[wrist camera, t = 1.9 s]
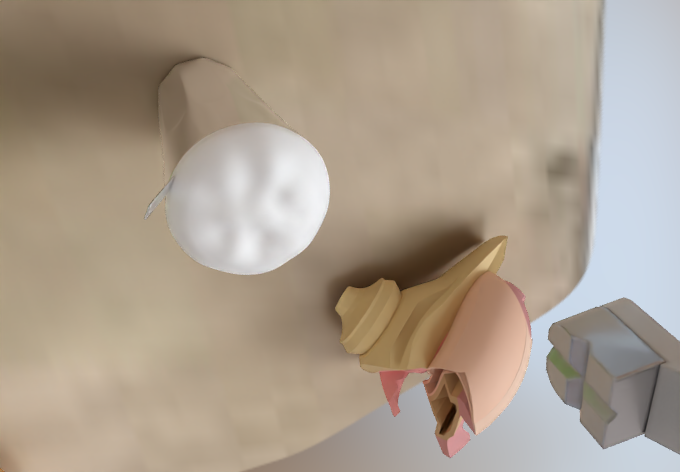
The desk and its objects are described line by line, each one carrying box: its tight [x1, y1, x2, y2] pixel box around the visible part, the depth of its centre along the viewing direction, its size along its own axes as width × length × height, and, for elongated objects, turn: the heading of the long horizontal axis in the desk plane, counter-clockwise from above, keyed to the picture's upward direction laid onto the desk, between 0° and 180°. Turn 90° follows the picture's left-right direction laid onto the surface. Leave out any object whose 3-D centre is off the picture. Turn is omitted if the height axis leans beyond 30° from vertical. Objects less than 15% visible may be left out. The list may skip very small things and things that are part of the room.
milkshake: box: [144, 57, 330, 275], centre depth 20 cm, size 5×5×10 cm
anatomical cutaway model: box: [335, 236, 532, 458], centre depth 30 cm, size 9×10×10 cm
